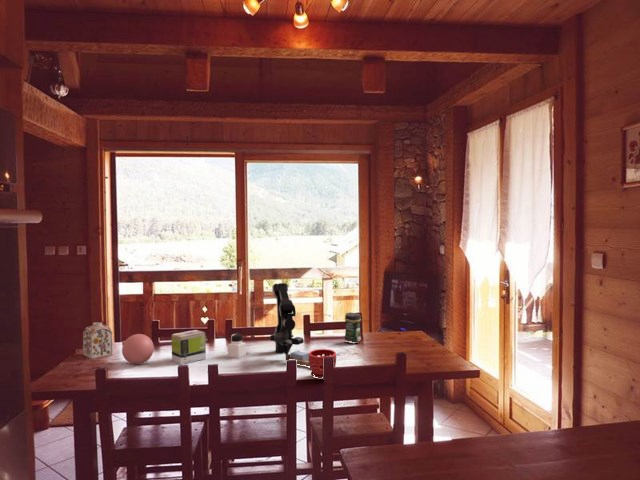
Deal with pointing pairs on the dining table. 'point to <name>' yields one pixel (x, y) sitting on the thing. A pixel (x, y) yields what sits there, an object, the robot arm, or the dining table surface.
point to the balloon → (137, 349)
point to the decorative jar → (97, 341)
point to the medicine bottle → (236, 347)
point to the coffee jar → (352, 327)
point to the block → (300, 355)
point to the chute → (299, 360)
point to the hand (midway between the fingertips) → (286, 354)
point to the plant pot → (319, 361)
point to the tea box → (188, 346)
